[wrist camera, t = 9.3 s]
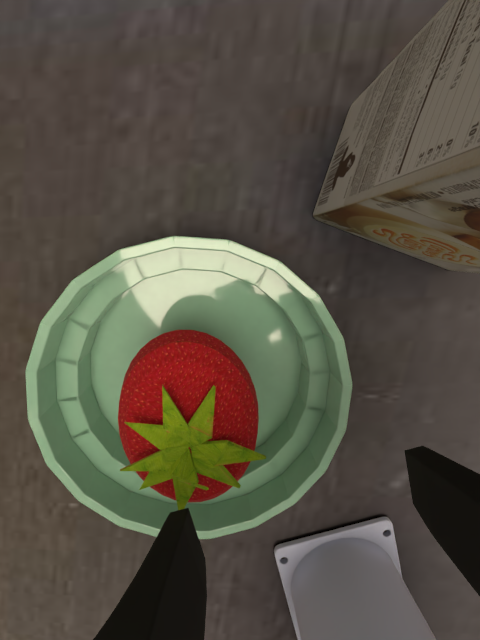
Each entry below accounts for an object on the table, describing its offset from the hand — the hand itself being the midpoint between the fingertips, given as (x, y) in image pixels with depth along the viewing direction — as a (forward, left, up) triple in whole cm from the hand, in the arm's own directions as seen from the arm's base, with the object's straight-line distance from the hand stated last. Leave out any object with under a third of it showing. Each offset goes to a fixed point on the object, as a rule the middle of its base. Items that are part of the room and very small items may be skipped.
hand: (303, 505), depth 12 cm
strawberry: (+2, +3, -10) cm, 11 cm away
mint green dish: (+2, +3, -10) cm, 11 cm away
